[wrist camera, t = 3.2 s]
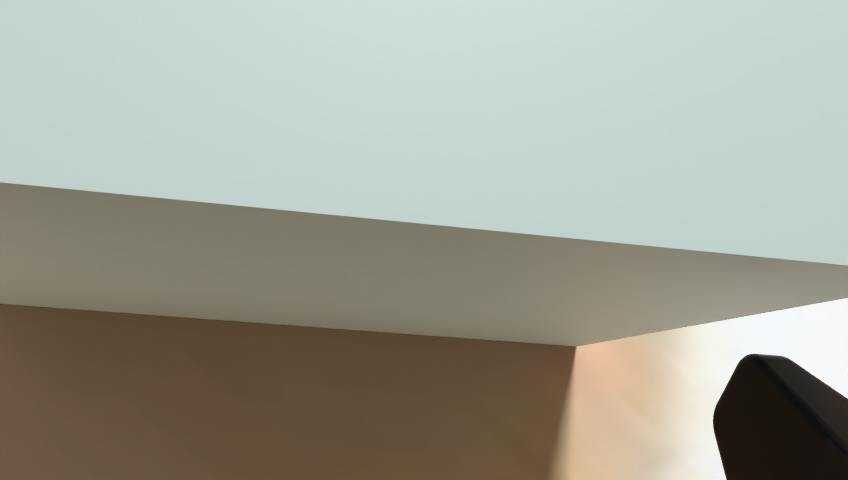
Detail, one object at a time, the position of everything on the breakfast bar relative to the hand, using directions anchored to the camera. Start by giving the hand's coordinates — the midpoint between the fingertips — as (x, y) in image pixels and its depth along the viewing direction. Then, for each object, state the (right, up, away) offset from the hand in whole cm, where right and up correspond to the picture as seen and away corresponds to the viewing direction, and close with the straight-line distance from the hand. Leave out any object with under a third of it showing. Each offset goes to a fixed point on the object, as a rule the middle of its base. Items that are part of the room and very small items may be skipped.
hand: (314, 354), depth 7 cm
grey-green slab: (-1, +1, +9) cm, 9 cm away
